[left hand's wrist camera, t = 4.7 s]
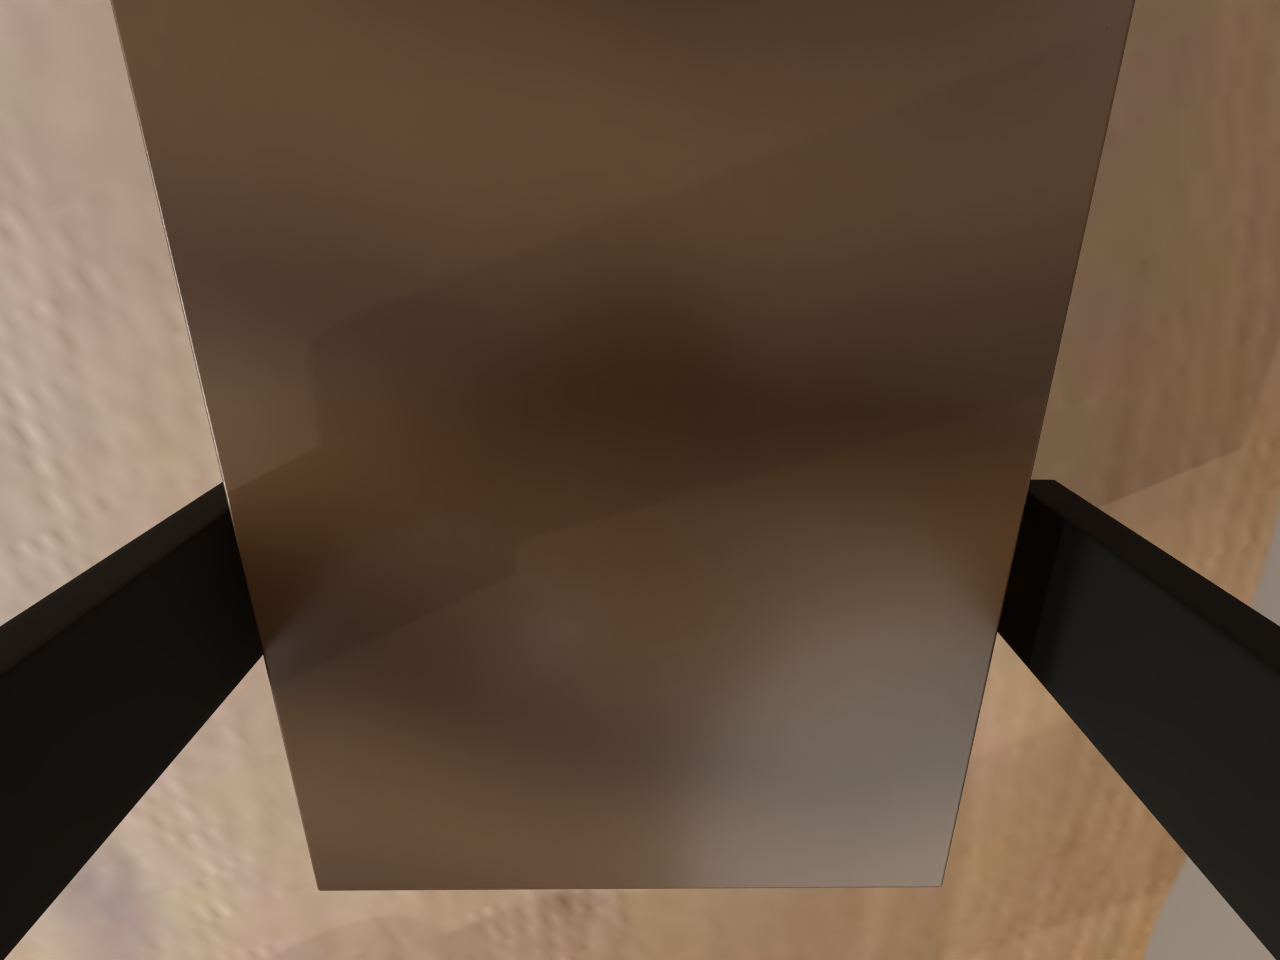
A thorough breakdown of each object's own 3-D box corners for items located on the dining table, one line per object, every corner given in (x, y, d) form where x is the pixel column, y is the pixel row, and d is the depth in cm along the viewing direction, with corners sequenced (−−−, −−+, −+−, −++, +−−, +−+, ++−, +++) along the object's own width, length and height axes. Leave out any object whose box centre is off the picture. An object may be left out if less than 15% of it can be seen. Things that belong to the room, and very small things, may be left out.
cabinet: (337, -242, 13) (-111, -936, 5) (918, -240, 13) (1338, -919, 5) (442, 627, 19) (316, 892, 12) (822, 625, 19) (943, 888, 12)
